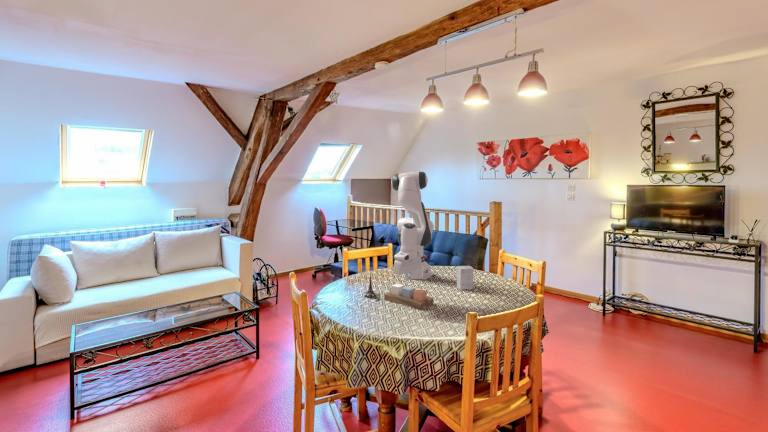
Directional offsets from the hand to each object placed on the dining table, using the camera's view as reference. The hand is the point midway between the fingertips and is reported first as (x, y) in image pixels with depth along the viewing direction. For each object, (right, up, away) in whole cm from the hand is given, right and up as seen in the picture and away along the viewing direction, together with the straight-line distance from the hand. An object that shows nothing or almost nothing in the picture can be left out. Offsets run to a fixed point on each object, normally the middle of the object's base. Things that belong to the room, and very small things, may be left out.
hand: (408, 279), depth 214 cm
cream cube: (-5, -9, +6) cm, 12 cm away
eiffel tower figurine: (-20, -12, +10) cm, 25 cm away
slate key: (0, -10, +2) cm, 10 cm away
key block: (0, -12, +2) cm, 12 cm away
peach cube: (+6, -10, -3) cm, 12 cm away
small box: (+36, -9, +26) cm, 45 cm away
